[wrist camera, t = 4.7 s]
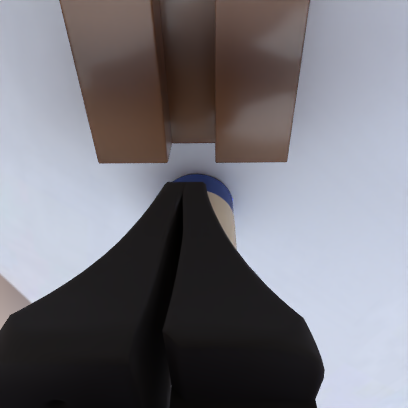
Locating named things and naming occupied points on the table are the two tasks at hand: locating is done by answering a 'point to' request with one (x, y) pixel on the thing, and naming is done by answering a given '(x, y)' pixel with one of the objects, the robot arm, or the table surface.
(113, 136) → the block
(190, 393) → the robot arm
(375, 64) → the table surface
